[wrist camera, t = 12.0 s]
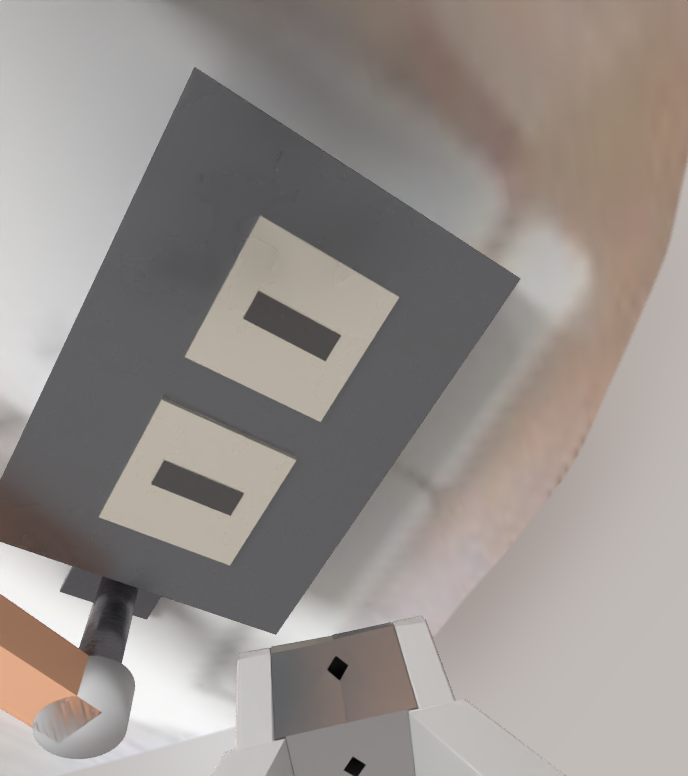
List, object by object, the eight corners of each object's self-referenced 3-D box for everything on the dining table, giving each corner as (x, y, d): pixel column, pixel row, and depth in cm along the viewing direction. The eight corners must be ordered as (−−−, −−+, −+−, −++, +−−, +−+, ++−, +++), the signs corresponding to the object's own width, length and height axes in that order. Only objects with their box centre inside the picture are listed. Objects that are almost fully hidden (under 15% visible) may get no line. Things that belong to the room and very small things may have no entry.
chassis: (24, 460, 30) (-29, 538, 24) (205, 80, 25) (193, 66, 19) (271, 555, 35) (276, 640, 29) (469, 250, 29) (524, 280, 24)
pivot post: (62, 583, 33) (14, 704, 26) (99, 515, 32) (58, 623, 25) (148, 611, 35) (124, 732, 28) (186, 547, 34) (171, 657, 27)
